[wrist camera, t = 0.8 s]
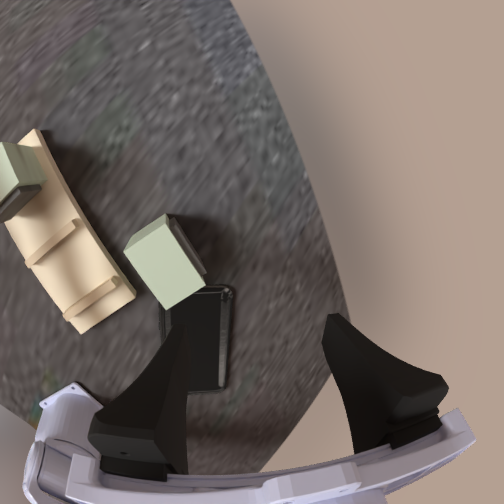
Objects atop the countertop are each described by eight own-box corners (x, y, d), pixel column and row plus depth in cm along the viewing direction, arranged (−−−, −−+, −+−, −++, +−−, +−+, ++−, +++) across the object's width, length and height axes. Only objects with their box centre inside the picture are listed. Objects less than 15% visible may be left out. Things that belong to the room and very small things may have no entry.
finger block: (165, 283, 28) (166, 310, 22) (132, 235, 25) (123, 251, 20) (202, 260, 28) (211, 281, 23) (170, 210, 26) (172, 219, 21)
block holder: (84, 327, 26) (67, 367, 19) (-9, 178, 19) (-49, 183, 12) (136, 291, 27) (129, 328, 20) (40, 130, 19) (4, 119, 13)
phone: (233, 287, 29) (225, 392, 33) (231, 283, 30) (223, 387, 34) (157, 286, 27) (164, 396, 30) (157, 283, 28) (164, 390, 31)
